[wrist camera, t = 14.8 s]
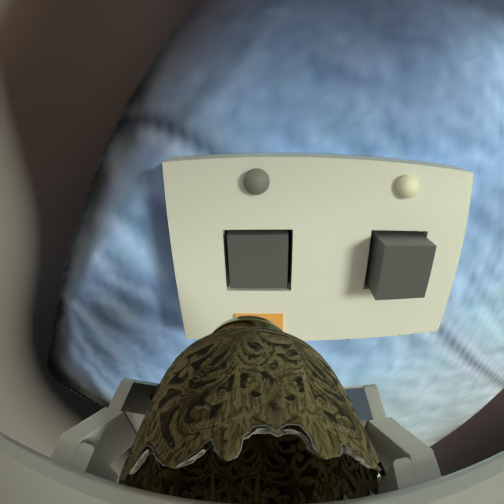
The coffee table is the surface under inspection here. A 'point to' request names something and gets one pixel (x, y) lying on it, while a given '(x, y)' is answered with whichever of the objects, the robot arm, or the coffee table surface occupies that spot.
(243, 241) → the block
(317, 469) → the brown textured goblet
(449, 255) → the panel
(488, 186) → the coffee table surface
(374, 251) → the block
